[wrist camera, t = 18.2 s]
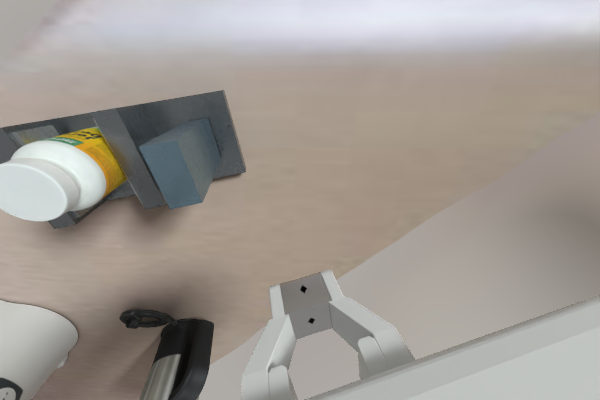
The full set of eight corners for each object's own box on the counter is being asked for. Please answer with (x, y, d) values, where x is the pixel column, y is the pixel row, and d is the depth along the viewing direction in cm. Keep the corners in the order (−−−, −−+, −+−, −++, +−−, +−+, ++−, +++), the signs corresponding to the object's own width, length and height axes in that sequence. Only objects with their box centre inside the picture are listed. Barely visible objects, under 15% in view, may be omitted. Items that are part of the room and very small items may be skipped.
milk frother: (206, 348, 47) (188, 447, 34) (119, 345, 42) (60, 460, 29) (223, 303, 42) (210, 399, 29) (127, 292, 37) (60, 403, 24)
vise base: (95, 199, 29) (54, 228, 23) (42, 120, 25) (-27, 132, 18) (245, 168, 31) (244, 188, 25) (223, 90, 26) (215, 91, 20)
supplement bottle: (100, 184, 27) (14, 240, 17) (64, 133, 24) (-66, 165, 14) (152, 171, 28) (97, 218, 18) (123, 119, 25) (37, 141, 15)
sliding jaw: (160, 189, 29) (104, 252, 18) (119, 108, 24) (8, 126, 13) (227, 175, 30) (213, 227, 19) (200, 94, 25) (160, 100, 14)
